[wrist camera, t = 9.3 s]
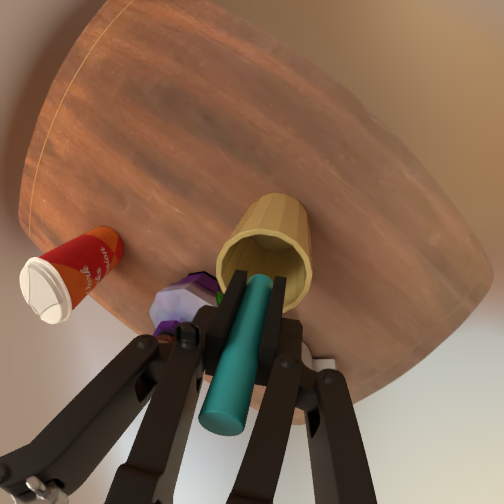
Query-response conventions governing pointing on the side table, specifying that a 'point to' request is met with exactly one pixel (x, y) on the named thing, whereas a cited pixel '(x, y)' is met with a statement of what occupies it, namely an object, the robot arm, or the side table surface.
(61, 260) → the paper cup
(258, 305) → the teal cylinder rod
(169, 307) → the potion bottle
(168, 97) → the side table surface
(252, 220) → the can
